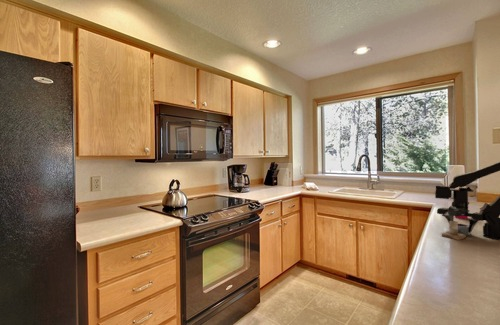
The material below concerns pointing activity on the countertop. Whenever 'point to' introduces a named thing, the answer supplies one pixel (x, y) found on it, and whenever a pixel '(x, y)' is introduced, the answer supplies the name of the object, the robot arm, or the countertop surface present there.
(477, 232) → the countertop surface
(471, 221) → the robot arm
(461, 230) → the steel collar
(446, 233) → the post stand
